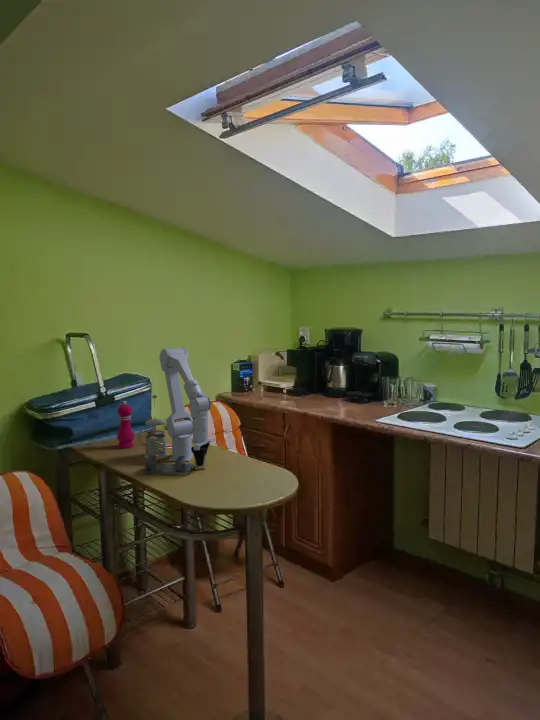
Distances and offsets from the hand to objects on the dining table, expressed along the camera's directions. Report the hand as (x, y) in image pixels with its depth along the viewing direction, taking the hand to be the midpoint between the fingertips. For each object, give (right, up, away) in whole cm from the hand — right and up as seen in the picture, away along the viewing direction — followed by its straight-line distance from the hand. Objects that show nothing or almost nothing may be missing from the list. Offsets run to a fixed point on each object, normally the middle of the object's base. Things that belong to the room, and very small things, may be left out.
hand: (201, 463), depth 200 cm
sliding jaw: (-18, 0, 0) cm, 18 cm away
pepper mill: (-36, +1, +29) cm, 47 cm away
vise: (-11, -2, -3) cm, 12 cm away
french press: (-21, 0, +16) cm, 26 cm away
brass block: (0, -1, 0) cm, 1 cm away
